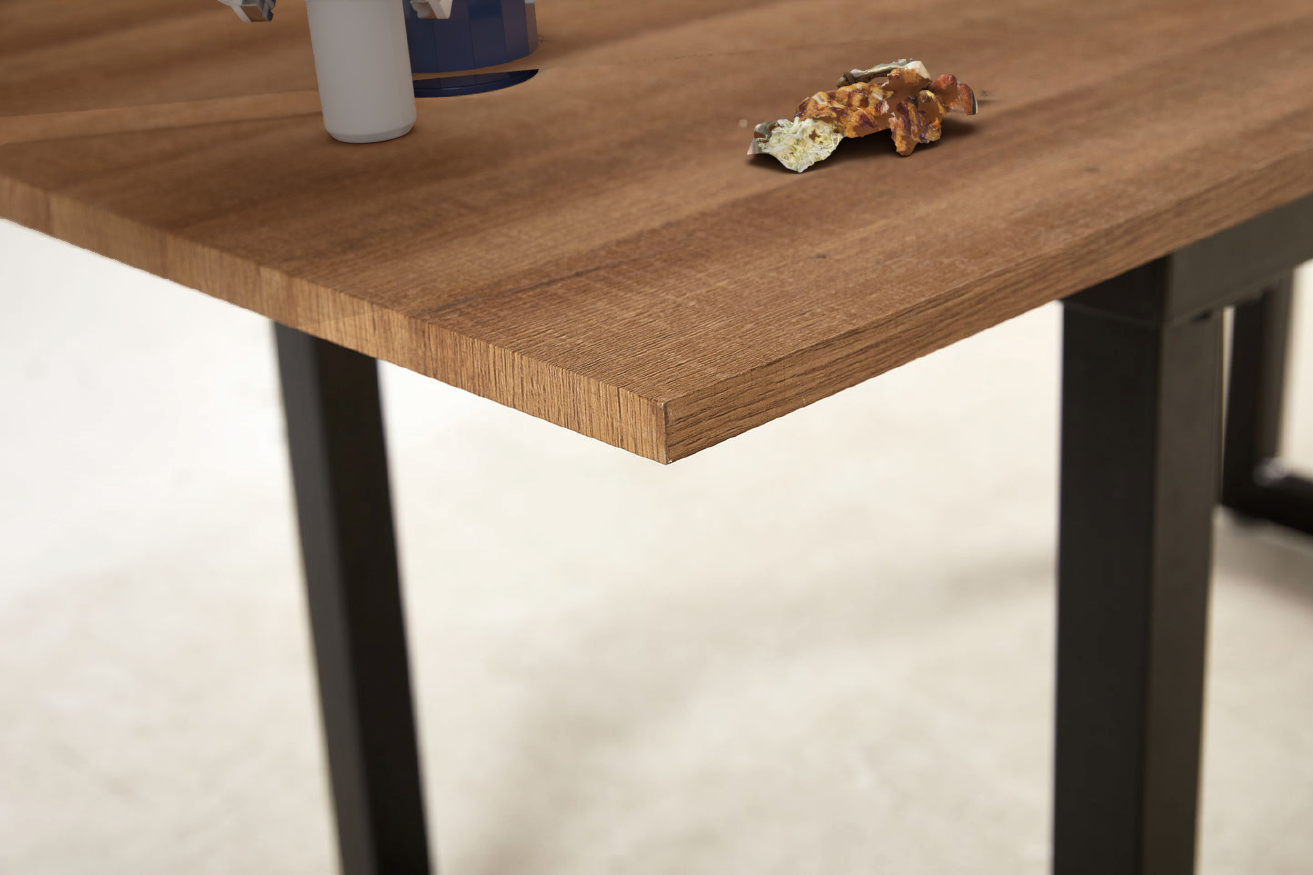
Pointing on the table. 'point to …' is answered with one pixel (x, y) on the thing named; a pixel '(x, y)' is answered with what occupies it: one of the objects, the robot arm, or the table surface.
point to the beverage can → (362, 68)
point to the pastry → (866, 113)
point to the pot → (471, 45)
